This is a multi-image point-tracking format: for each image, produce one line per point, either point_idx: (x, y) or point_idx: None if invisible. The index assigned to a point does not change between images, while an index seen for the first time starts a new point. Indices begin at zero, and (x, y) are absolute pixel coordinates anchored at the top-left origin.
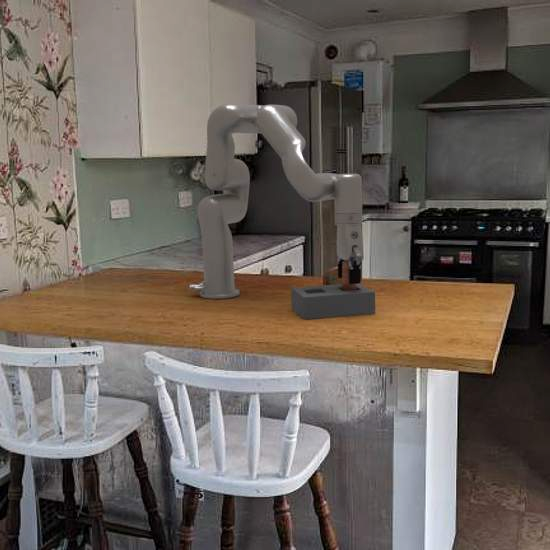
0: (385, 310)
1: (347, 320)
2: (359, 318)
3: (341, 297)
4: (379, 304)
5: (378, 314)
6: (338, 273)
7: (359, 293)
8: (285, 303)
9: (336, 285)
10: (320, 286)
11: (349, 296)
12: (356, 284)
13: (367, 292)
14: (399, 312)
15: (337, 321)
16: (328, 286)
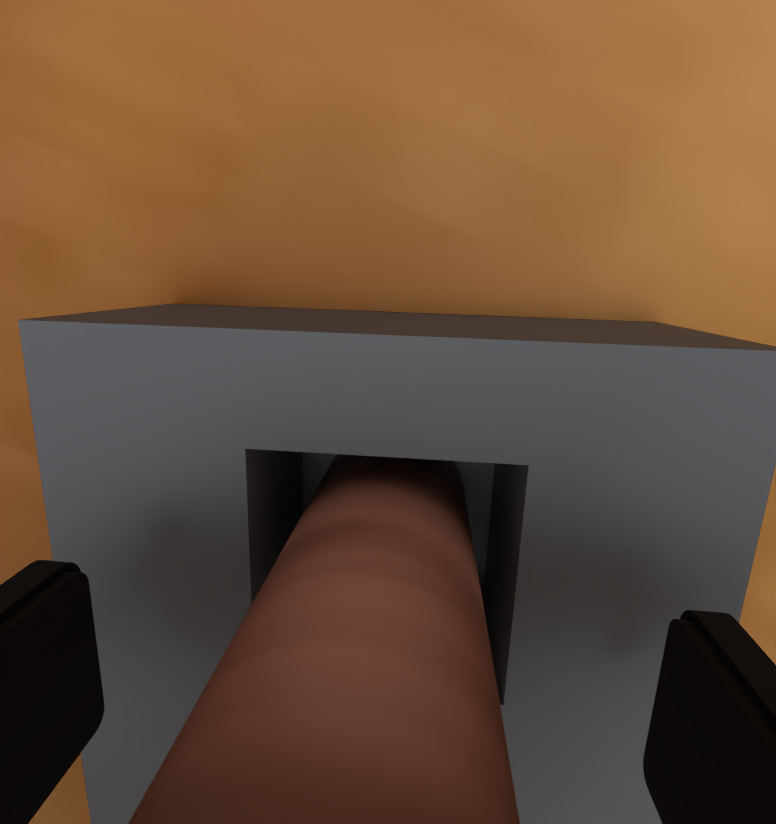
0: (573, 162)
1: (760, 628)
2: None
3: None
4: (286, 110)
5: (699, 303)
6: (45, 789)
7: (743, 582)
8: None
9: (123, 641)
10: (134, 806)
11: None
12: (433, 533)
13: (764, 469)
14: (732, 46)
15: None
16: (158, 738)
